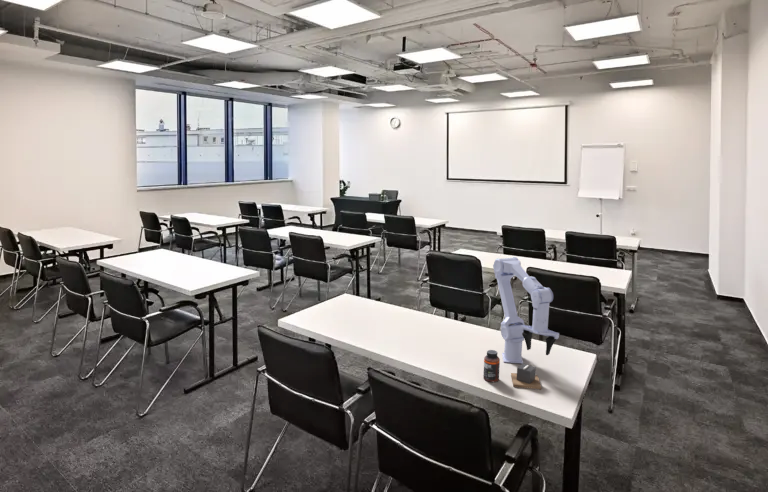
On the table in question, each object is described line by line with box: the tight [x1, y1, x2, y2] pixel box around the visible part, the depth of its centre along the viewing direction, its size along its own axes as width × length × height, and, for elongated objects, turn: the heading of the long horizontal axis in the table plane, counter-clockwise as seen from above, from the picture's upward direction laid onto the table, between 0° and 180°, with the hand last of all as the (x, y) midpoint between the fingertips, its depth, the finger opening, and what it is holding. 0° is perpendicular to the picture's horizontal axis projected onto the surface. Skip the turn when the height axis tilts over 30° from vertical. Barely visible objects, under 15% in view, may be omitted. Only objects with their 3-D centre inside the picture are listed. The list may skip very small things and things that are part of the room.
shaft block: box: [510, 372, 542, 390], centre depth 180 cm, size 10×10×4 cm
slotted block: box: [516, 363, 537, 384], centre depth 179 cm, size 5×5×6 cm
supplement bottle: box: [483, 349, 501, 383], centre depth 181 cm, size 6×6×11 cm
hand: (538, 351), depth 184 cm, fingers open, 7 cm apart
